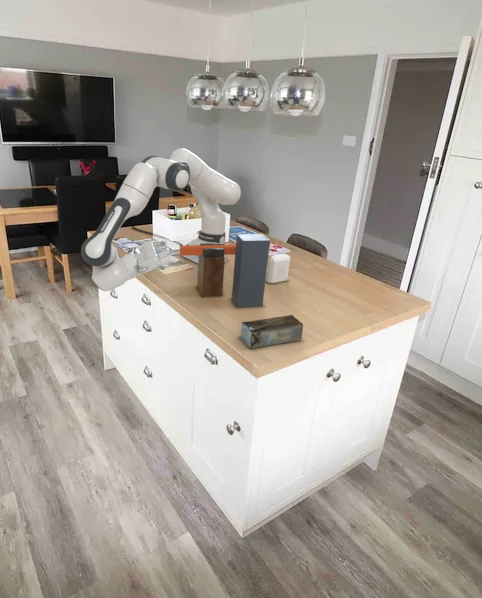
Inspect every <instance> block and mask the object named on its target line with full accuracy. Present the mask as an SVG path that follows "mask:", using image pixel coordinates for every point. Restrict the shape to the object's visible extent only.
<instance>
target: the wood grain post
mask: <svg viewBox="0 0 482 598" xmlns="http://www.w3.org/2000/svg"><path fill="white" fill-rule="evenodd" d="M200 245H221V244H220V243H200ZM225 257H226V256H225ZM225 257H224V248H203V255H199V258H198V264H197V286H196V287H197V290H198V292H199V293H200V296H201V297H202V298H211V297H212V298H213V297H222V296H223V290H224V273H225V263H226V262H225Z"/></svg>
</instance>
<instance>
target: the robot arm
mask: <svg viewBox="0 0 482 598" xmlns="http://www.w3.org/2000/svg"><path fill="white" fill-rule="evenodd" d="M188 185H189V187H190V192H191V194H192V195H193V197H194V198H195V199H196V201H197V204H198V206H199V209H200V214H201V215H200V216H201V228H200V230H197V232H196V235H198V236H197V237H196V238H194V239H193V240H191V241H189V242H188V243H187V244H185V246H189V245H200V243H220V244H221V245H225V242H226V231H225V230H226V215H225V213H224V211H222V209H221V208H220V205H223V206H231V205H236V204H237V203H238V202H239V201H240V198H241V195H242V190H241V187H240V184H239V183H237V182H235V181H233V180H232V179H229V178H227V177H225V176H224V175H223V174H221V173H220V172H218V171H216V170H214V169H213V168H211V167H210V166H209V165H207V164H206V163H205V162H204V161H203V160H202V159H201V158H200V157H199V156H197V155H196V154H195V153H193V152H191V151H190V150H188V149H186V148H182V147H180V148H177V149H174V150H173V152H172V153H171V154H170V157H169V158H165V157H160V156H157V155H149V156H146V157H144V158H143V159H142V160H141V162H137V163H136V164H135V165H134V166H133V167H132V168H131V169H130V171H129V172H128V173H127V175H126V177H125V178H124V180H123V182H122V184H121V186H120V188H119V190H118V192H117V194H116V196H115V198H114V200H113V201H112V203H111V206H110V207H109V209H108V211H107V212H106V214H105V215H104V217H103V219H102V220H101V222H100V224H99V225H98V227H97V229H96V230H95V231H94V232H93V234H92V235H91V236H89V237H88V238H86V239H85V240H84V242H83V243H82V244H81V248H80V254H81V258H82V260H83V261H84V262H85V263H86V264H87V265H90V266H91V267H92V275H91V280H92V283H93V284H94V285H95V286H96V287H97V289H99V290H101V291H103V292H110V291H113V290H115V289H117V288H119V287H121V286H123V285H124V284H126V282H128V281H130V280H133V279H135V278H137V277H138V276H140V275H142V274H146V273H149V272H150V271H151V272H152V271H153V270H155V269H157V268H159V267H160V266H161V265H162V261H161V260H163V259H165V257H166V256H168V255H169V254H170V253H171V251H170V249H169V248H168V247H166V248H163V250H162V251H160V252H158V250H159V248H161V247H165V246H167V242H166V240H165V239H162V240H161V241H157V242H155V243H154V242H153V241H152V240H149V241H146V242H144V243H142V244H140V245H138V246H136V247H135V248H133V247H132V248H130V249H128V250H127V253H126V254H125V255H124V256H122V257H120V255H119V251H118V248H117V247H116V246H115V244H113V241H114V239H115V238H116V236H117V234H118V233H119V231H120V229H121V227H122V225H123V224H124V223H125V221H127V220H128V219H129V218H131V217H135V216H138V215H140V214H141V213H142V212H143V211H144V209H145V208H146V206H147V205H148V203H149V201H150V198H151V197H152V195H153V193H154V190H155V188H157V187H159V188H162V189H166V190H170V191H173V192H181V191H183V190H185V189H186V187H187V186H188ZM131 228H132V229H135V230H137V231H139V232H141V233H146V234H150V235H153V233H154V232H150V231H146V230H143V229H139V228H137V227H135V226H133V225H131ZM224 257H225V262H224V263H226V262H227V257H226V255H224ZM182 258H185V259H187V260H189V261H191V262H193V263H195V264H197V265H198V258H199V255H185V256H182Z"/></svg>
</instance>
